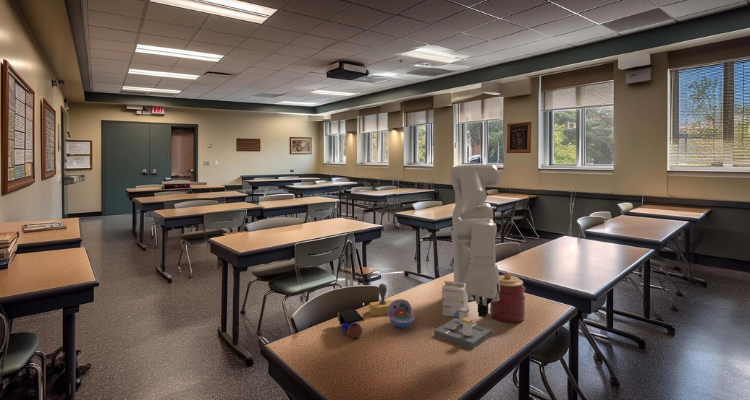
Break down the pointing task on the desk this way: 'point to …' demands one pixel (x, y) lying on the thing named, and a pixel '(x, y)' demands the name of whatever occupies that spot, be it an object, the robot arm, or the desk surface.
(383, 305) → the rubber stamp
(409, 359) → the desk surface
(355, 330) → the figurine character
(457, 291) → the ink box
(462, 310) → the fader tab plain
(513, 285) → the canister
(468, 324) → the fader tab brass
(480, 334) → the board
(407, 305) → the cell model
